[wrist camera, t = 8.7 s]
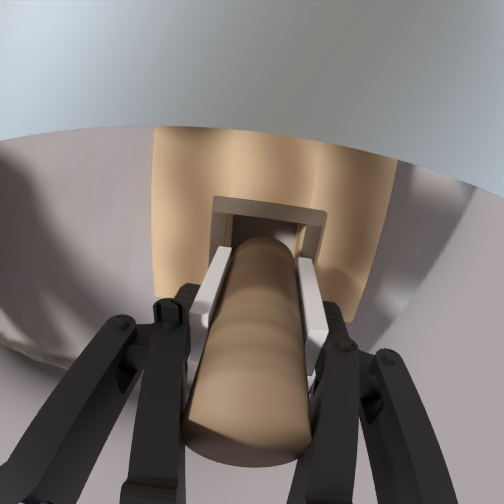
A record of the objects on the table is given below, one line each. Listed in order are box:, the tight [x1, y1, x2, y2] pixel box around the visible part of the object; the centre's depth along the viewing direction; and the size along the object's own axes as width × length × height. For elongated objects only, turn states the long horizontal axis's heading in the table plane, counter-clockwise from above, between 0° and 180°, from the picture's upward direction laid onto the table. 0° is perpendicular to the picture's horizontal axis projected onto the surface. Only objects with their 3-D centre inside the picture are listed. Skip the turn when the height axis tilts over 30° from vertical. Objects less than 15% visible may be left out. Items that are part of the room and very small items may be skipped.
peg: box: [181, 236, 312, 468], centre depth 12 cm, size 4×4×12 cm
